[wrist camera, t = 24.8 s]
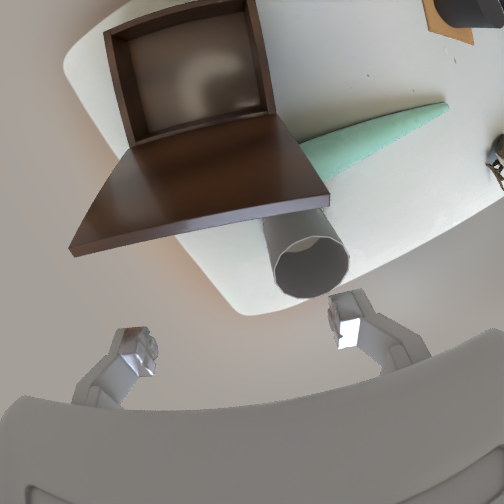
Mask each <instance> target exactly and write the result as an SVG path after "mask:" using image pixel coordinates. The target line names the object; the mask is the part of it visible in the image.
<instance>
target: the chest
mask: <svg viewBox="0 0 504 504" xmlns="http://www.w3.org/2000/svg"><path fill="white" fill-rule="evenodd" d="M103 35H104V41H105V47H106V52H107V57H108V62H109V67H110V72H111V77H112V81H113V86H114V90H115V94H116V98H117V102H118V106H119V110H120V114H121V118H122V122H123V125H124V129H125V133H126V136H127V140H128V143H129V147H130V148H133V147H136V146H139V145H142V144H145V143H149V142H152V141H155V140H159V139H162V138H166V137H169V136H173V135H177V134H180V133H184V132H188V131H192V130H196V129H201V128H205V127H209V126H214V125H219V124H224V123H229V122H234V121H239V120H245V119H251V118H257V117H263V116H270V115H277V114H276V108H275V101H274V95H273V89H272V84H271V78H270V72H269V67H268V61H267V56H266V51H265V45H264V40H263V35H262V30H261V26H260V21H259V16H258V11H257V7H256V2H255V0H197V1H193V2H189V3H185V4H181V5H177V6H173V7H170V8H166V9H163V10H160V11H157V12H153V13H150V14H148V15H145V16H142V17H139V18H136V19H134V20H131V21H128V22H126V23H123V24H121V25H119V26H116V27H114V28H112V29H109V30H107V31H105V32H103Z"/></svg>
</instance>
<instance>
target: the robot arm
mask: <svg viewBox="0 0 504 504" xmlns="http://www.w3.org/2000/svg"><path fill="white" fill-rule="evenodd" d="M328 304H329V307H330V308H329V309H328V319H329V324H330V327H331V330H332V331H334V339H335V342H336V344H337V347H338V349H343V348H347V347H351V346H355V345H357V347H358V348H360V349H361V350H362V351H363V352H365V353H366V354H367V355H368V356H370V357H371V358H372V359H373V360H375V361H376V362H377V363H378V364H380V365H381V366H382V370H381V373H380V375H379V377H376V378H373V379H369V380H366V381H363V382H360V383H356V384H352V385H349V386H345V387H342V388H337V389H334V390H330V391H325V392H321V393H317V394H312V395H308V396H303V397H298V398H293V399H287V400H281V401H275V402H269V403H262V404H255V405H248V406H239V407H229V408H218V409H204V410H182V411H145V410H144V411H143V410H125V409H124V408H122V407H121V406H120V404H121V402H122V401H123V399H124V398H125V397H126V395H127V394H128V392H129V391H130V390H131V388H132V387H133V385H134V384H135V382H136V381H137V380H138V378H139V377H147V376H154V374H155V368H156V364H155V362H154V360H155V359H156V358H157V357H158V345H157V342H156V340H155V339H154V338H153V337H152V336H150V335H149V334H150V331H149V329H148V328H147V327H134V328H133V327H132V328H121V329H118V330H116V332H115V336H114V339H113V341H112V344H111V347H110V350H109V353H108V355H105V356H104V357H103V358H102V359H101V360H100V361H99V362H98V363H97V364H96V365H95V366H94V367H93V368H92V369H91V370H90V372H88V373H87V374H86V375H85V377H83V378H82V379H81V381H80V382H79V383H78V384H77V386H76V389H75V392H74V395H73V398H72V402H71V404H67V403H61V402H55V401H50V400H45V399H40V398H35V397H31V396H26V395H24V396H21V397H20V398H19V399H17V400H16V401H15V402H14V403H13V404H12V405H11V406H10V407H9V408H8V409H7V410H6V411H5V413H4V415H3V416H2V418H1V421H0V504H504V332H502V331H500V330H498V329H495V328H492V329H489V330H486V331H485V332H483V333H481V334H479V335H477V336H475V337H473V338H471V339H469V340H467V341H465V342H463V343H461V344H459V345H457V346H455V347H453V348H451V349H449V350H446V351H444V352H442V353H440V354H438V355H435V356H433V357H432V356H431V354H430V352H429V351H428V349H427V347H426V345H425V344H424V342H423V340H422V338H421V337H420V335H418V334H416V333H414V332H413V331H411V330H409V329H407V328H405V327H404V326H402V325H400V324H398V323H396V322H395V321H393V320H391V319H389V318H387V317H386V316H384V315H382V314H380V313H377V314H376V312H375V311H374V309H373V307H372V305H371V303H370V301H369V300H368V298H367V296H366V294H365V293H364V291H363V289H361V288H360V289H356V290H352V291H347V292H344V293H339V294H335V295H331V296H328Z"/></svg>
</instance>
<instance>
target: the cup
mask: <svg viewBox="0 0 504 504" xmlns="http://www.w3.org/2000/svg"><path fill="white" fill-rule="evenodd" d="M263 227H264V234H265V239H266V244H267V248H268V253H269V257H270V262H271V266H272V271H273V276H274V280H275V284H276V285H277V286H278V287H279V289H280V290H281V291H282V292H283V293H284V294H286V295H288V296H291V297H293V298H296V299H314V298H316V297H319V296H322V295H324V294H327V293H329V292H330V291H332V290H333V289H334V288H336V287H337V286H338V285H339V284H341V282H342V281H343V279H344V277H345V276H346V274H347V272H348V270H349V259H350V256H349V254H348V252H347V250H346V248H345V247H344V245H343V243H342V241H341V240H340V238H339V237H338V235H337V234H336V232H335V230H334V229H333V227H332V226H331V224H330V223H329V221H328V220H327V218H326V217H325V215H324V214H323V212H322V211H321V209H320V208H316V209H310V210H304V211H298V212H292V213H286V214H280V215H275V216H269V217H265V219H264V222H263Z"/></svg>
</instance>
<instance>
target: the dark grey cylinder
mask: <svg viewBox="0 0 504 504" xmlns="http://www.w3.org/2000/svg"><path fill="white" fill-rule="evenodd" d="M433 1H434V6H435V8H436V11H437V12H438V14H439V16H440V17H441V18H442V19H443V21H444V22H445V23H447V24H448V25H449V26H451V27H454V28H502V27H503V26H504V14H503V11H502V8H501V6H500V4H499V2H498V0H433Z"/></svg>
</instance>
